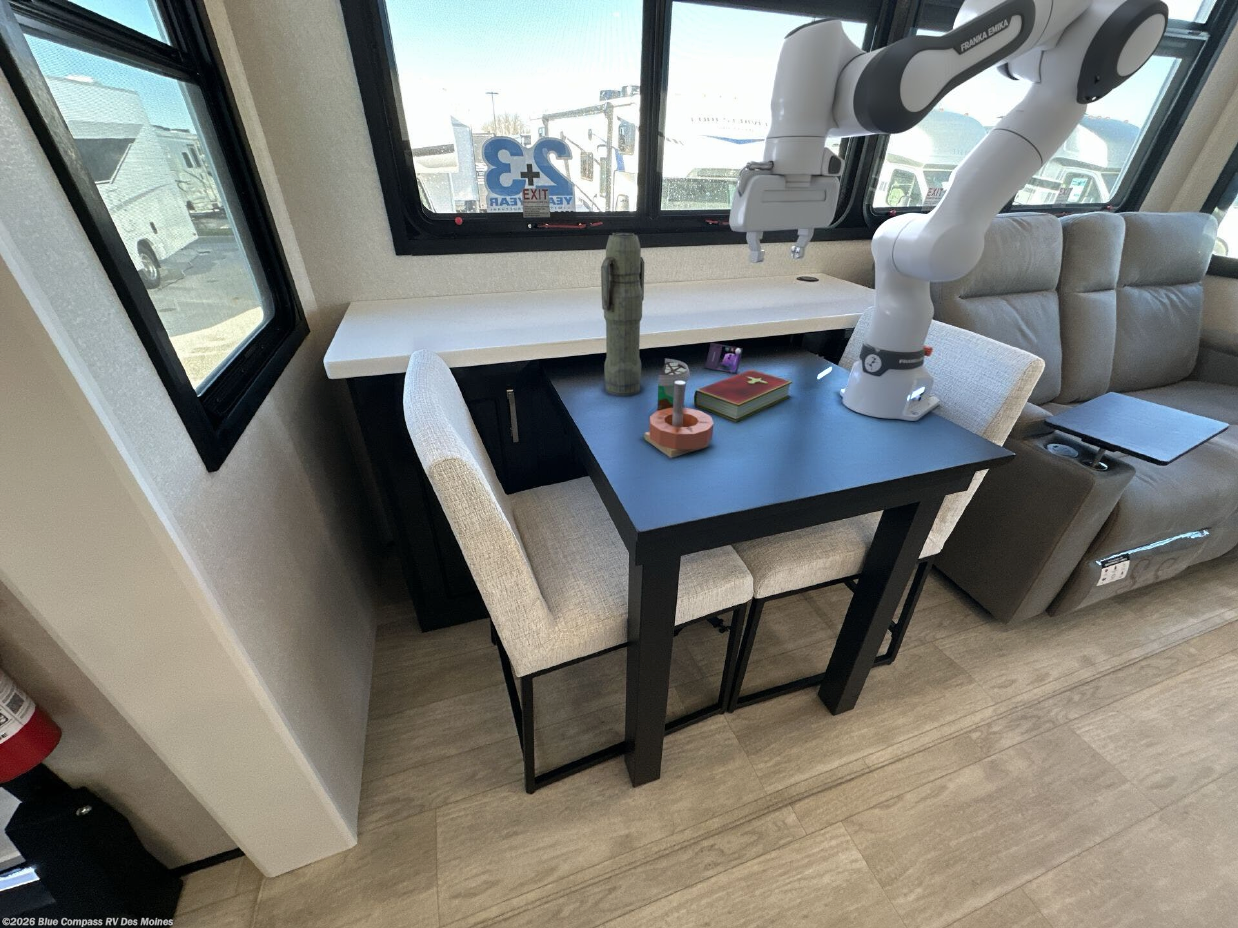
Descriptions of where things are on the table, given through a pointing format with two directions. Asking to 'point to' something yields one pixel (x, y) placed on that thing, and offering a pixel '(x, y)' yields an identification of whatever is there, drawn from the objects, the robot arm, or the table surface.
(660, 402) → the food container
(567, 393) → the table surface
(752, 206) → the robot arm
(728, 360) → the purple rectangular box
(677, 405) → the stand
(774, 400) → the hardcover book
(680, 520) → the table surface
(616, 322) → the grey-green tall cylinder
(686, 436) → the ring
